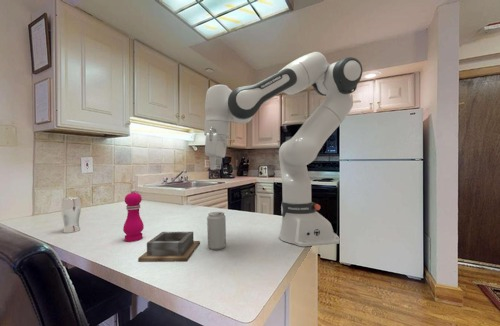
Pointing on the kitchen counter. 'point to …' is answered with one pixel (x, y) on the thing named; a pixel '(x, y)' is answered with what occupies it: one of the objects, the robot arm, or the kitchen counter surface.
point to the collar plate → (170, 247)
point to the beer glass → (71, 214)
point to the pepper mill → (133, 217)
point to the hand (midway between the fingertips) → (215, 169)
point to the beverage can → (216, 230)
